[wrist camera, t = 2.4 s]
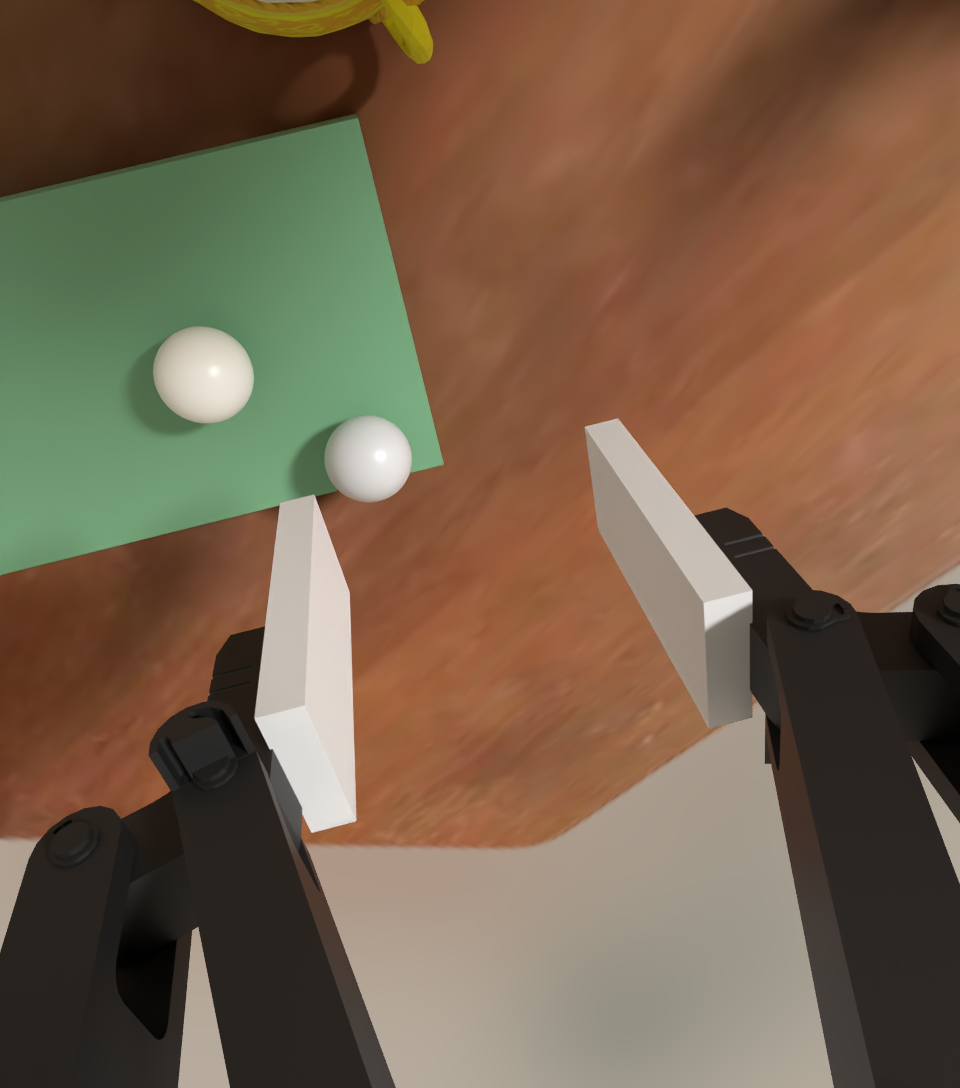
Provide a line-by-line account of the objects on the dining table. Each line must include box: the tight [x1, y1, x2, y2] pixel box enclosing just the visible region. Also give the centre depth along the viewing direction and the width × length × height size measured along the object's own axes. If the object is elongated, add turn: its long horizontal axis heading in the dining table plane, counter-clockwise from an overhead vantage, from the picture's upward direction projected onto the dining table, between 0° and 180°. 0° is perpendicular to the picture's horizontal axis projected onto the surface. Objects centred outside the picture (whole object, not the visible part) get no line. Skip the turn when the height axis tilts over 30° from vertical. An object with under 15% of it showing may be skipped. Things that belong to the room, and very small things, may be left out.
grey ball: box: [324, 415, 412, 502], centre depth 32 cm, size 4×4×4 cm
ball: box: [153, 326, 254, 424], centre depth 30 cm, size 4×4×4 cm
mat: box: [0, 114, 444, 575], centre depth 31 cm, size 14×28×4 cm, turn 101°
